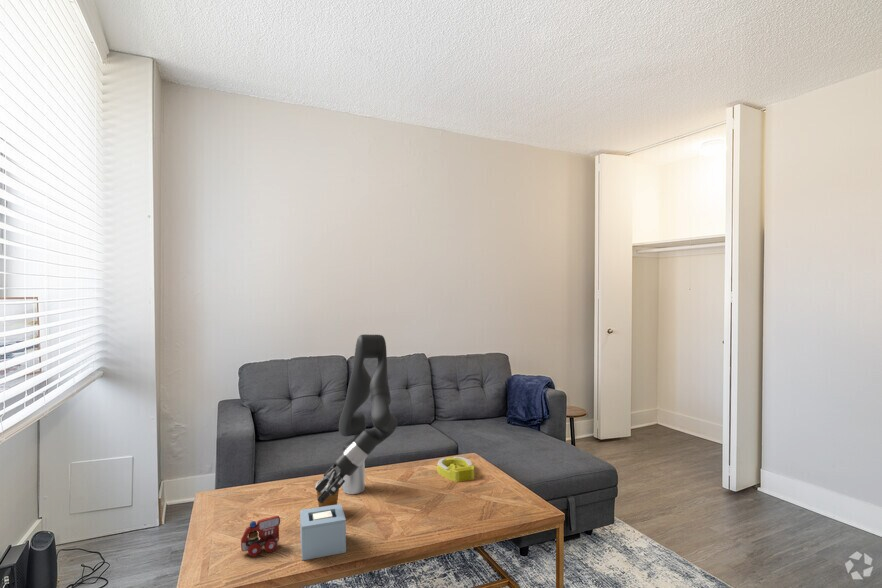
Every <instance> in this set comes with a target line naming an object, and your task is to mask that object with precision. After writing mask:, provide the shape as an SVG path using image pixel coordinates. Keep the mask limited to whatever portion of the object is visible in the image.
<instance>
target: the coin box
mask: <svg viewBox="0 0 882 588" xmlns="http://www.w3.org/2000/svg"><path fill="white" fill-rule="evenodd" d="M326 511H331V513H332V518H326V519H320V520H314V521H313V514H315V513H320V512H326ZM299 517H300V519H299V520H300V526H299V528H300V530H299V532H300V551H301V552H300V553H301V560H302V561H307V560H312V559H316V558H317V559H318V558H322V557H328V556H334V555H338V554H339V555H340V554H344V553H346V552H347V536H346V535H347V524H346V523H347V521H346V520H347V519H346V516H345V512H344V509H343V506H342V503H339V504H338V503H337V505H330V506H324V507H319V506H317V507H312V508H305V509H300V514H299Z"/></svg>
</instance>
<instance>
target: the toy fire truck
mask: <svg viewBox="0 0 882 588" xmlns="http://www.w3.org/2000/svg"><path fill="white" fill-rule="evenodd" d="M280 524H281V517H280V516H279V515H274V516H270V517H266V518H262V519H258V521H257V522H256V521H254V520H252V521H250V523H249V526H247V527H246V529H245V530H244V533H243V534H242V537H241V539H240V546H241V547H240V548H241V550H240V551H242V552H247V553H248V555H249V556H250V557H256V556H258V555H259V554H260V553H261V551H262V547H263V549H264V550H265V552H266V553H272V552H275V551H276V550H277V547H278V542H279V541H280Z"/></svg>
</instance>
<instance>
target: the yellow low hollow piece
mask: <svg viewBox="0 0 882 588" xmlns="http://www.w3.org/2000/svg"><path fill="white" fill-rule="evenodd" d="M436 465H437V466H436V467H437V470H436V471H437V473H438V474H439V475H440V476H442V477H443V478H445V479H447V480H450V481H452V482H455V483H461V482H465V481H471V480H475V465H473V463H472V461H471V460H470V459H468V458H466V457H463V456H452V457H445V458H440V459H439V460H438V461H437V464H436Z"/></svg>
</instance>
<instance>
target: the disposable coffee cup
mask: <svg viewBox="0 0 882 588" xmlns="http://www.w3.org/2000/svg"><path fill="white" fill-rule="evenodd" d="M322 480H323V478H321V479H319V480H318V481H316V483H315V486H314V487H315V488H314V489H315V491H316V496H317V498H318V497H319V496H320V495H321V494H322V493H323V491H324V490H325V489H326V487H327V486H328V484H327V485H326V487H325V488H324V489H323V490H322V491H321V492H318V491H317V490H316V487H317V485H318V484H319V483H320V482H321V481H322ZM331 490H332V489H331ZM339 491H340V488H339V489H338V491H337V492H336V493H335V494H334V495H333V496H332V495H329V496H328V497H327V499H326V500H325V501H324V502H323V503H320V502H319V501H318V500H317V503H318V504H317V505H318V507H324V506H330V505H337V504H338V500H339V499H338V498H339ZM317 498H316V499H317Z"/></svg>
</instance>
